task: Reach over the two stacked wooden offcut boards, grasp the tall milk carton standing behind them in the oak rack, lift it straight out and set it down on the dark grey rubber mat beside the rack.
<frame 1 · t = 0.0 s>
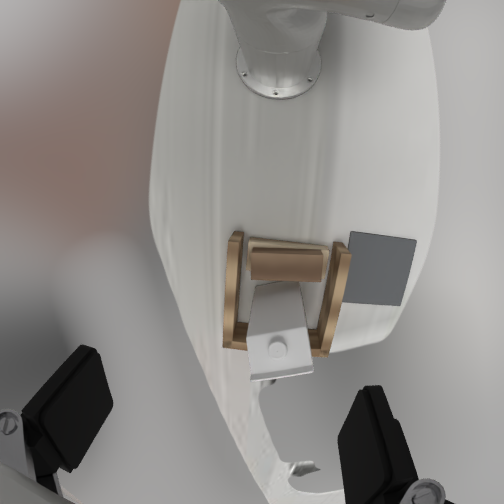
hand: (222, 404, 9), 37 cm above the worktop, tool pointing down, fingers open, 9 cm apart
mat: (377, 270, 45), on the worktop
offcut upper: (286, 261, 43), point 3 cm above the worktop, touching offcut lower
offcut lower: (286, 254, 46), on the worktop, touching offcut upper
rack: (282, 288, 47), on the worktop
milk carton: (280, 300, 48), resting in rack
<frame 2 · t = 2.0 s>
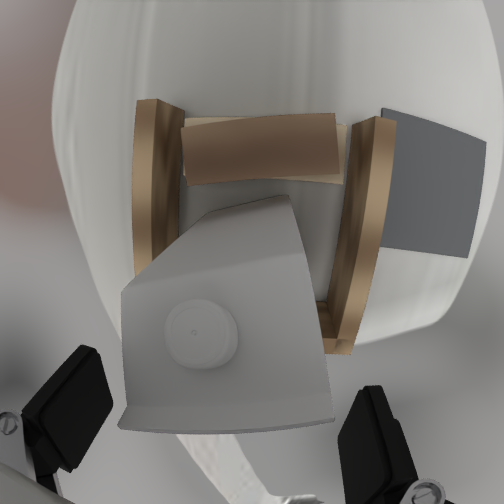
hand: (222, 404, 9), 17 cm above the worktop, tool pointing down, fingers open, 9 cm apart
mat: (433, 188, 22), on the worktop
offcut upper: (261, 148, 20), point 3 cm above the worktop, touching offcut lower
offcut lower: (265, 148, 23), on the worktop, touching offcut upper
rack: (258, 217, 24), on the worktop
milk carton: (256, 242, 25), resting in rack
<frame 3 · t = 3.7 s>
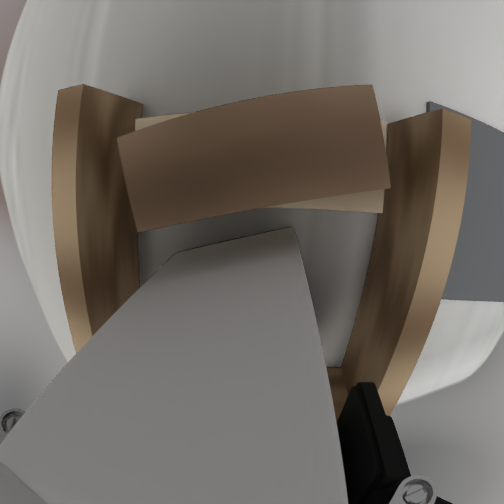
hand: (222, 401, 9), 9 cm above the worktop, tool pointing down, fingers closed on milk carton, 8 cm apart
mat: (486, 215, 14), on the worktop
offcut upper: (254, 155, 13), point 3 cm above the worktop, touching offcut lower
offcut lower: (260, 159, 15), on the worktop, touching offcut upper
rack: (250, 260, 17), on the worktop
milk carton: (247, 294, 18), resting in rack, touching gripper
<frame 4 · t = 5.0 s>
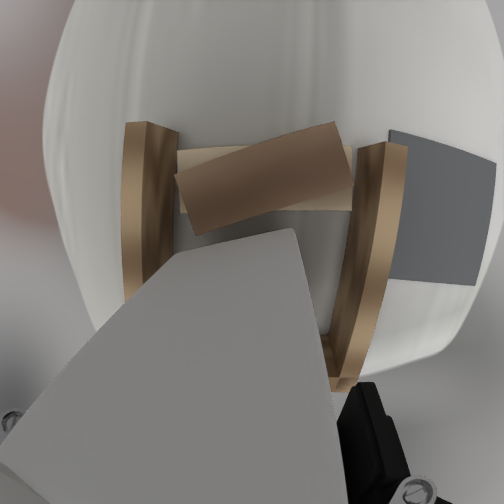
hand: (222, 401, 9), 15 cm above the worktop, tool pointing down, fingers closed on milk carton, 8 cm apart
mat: (441, 214, 21), on the worktop
offcut upper: (265, 176, 19), point 3 cm above the worktop, touching offcut lower
offcut lower: (265, 176, 22), on the worktop, touching offcut upper
rack: (257, 248, 23), on the worktop
milk carton: (247, 294, 18), point 6 cm above the worktop, touching gripper
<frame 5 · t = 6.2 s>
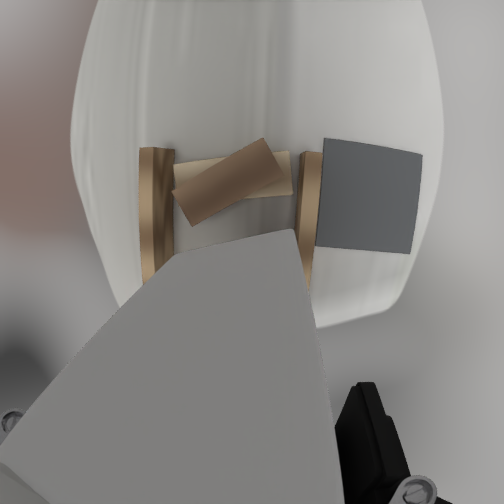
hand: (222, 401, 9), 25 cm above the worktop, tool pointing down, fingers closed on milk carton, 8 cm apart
mat: (371, 198, 30), on the worktop
offcut upper: (230, 181, 29), point 3 cm above the worktop, touching offcut lower
offcut lower: (235, 177, 32), on the worktop, touching offcut upper
rack: (231, 228, 33), on the worktop
milk carton: (246, 294, 18), point 16 cm above the worktop, touching gripper
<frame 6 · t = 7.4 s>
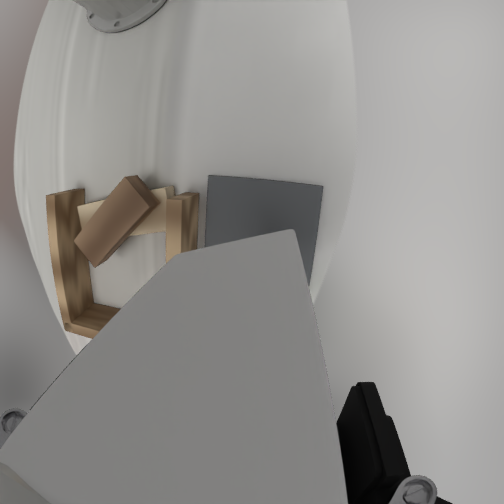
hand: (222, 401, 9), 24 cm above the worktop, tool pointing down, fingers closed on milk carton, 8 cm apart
mat: (260, 235, 32), on the worktop
offcut upper: (120, 219, 30), point 3 cm above the worktop
offcut lower: (132, 212, 33), on the worktop
rack: (131, 260, 34), on the worktop
milk carton: (247, 295, 18), point 15 cm above the worktop, touching gripper
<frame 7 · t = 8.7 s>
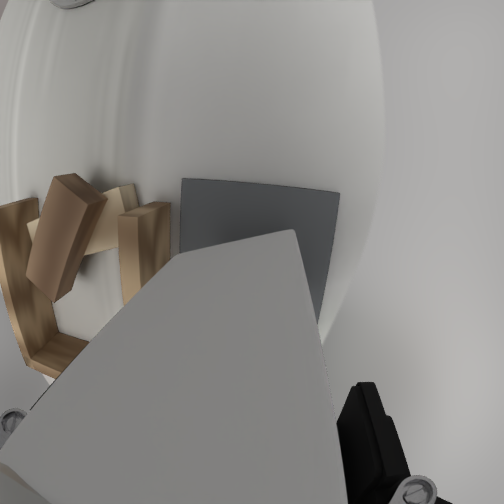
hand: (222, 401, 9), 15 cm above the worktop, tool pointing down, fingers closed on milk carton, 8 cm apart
mat: (253, 259, 23), on the worktop
offcut upper: (70, 235, 21), point 2 cm above the worktop, touching offcut lower
offcut lower: (90, 224, 24), on the worktop, touching offcut upper
rack: (93, 287, 26), on the worktop
milk carton: (247, 295, 18), point 6 cm above the worktop, touching gripper
when the fingers open (10 cm above the worktop, at t = 10.7 s): milk carton drops 1 cm, resting on mat.
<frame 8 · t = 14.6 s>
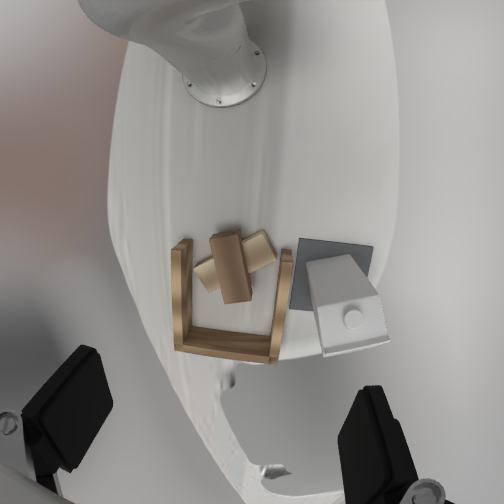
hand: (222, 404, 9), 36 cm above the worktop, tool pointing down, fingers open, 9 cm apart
mat: (330, 278, 46), on the worktop
offcut upper: (233, 264, 44), point 2 cm above the worktop
offcut lower: (236, 258, 47), on the worktop
rack: (232, 295, 48), on the worktop
milk carton: (330, 277, 45), resting on mat
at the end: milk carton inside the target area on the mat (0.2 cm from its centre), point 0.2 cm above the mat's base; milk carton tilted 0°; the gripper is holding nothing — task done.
